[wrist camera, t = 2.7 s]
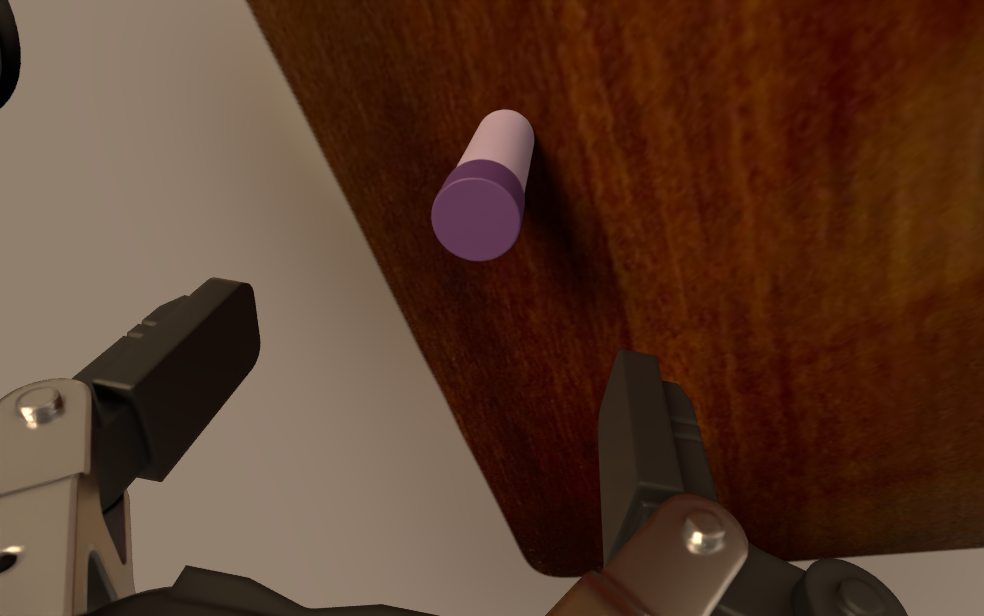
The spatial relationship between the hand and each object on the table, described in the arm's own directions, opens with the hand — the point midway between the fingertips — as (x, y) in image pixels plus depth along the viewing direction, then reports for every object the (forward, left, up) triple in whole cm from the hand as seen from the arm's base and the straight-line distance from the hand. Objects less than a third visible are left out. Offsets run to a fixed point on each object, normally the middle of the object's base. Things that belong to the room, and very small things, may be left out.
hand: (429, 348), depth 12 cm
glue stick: (0, 0, -17) cm, 17 cm away
